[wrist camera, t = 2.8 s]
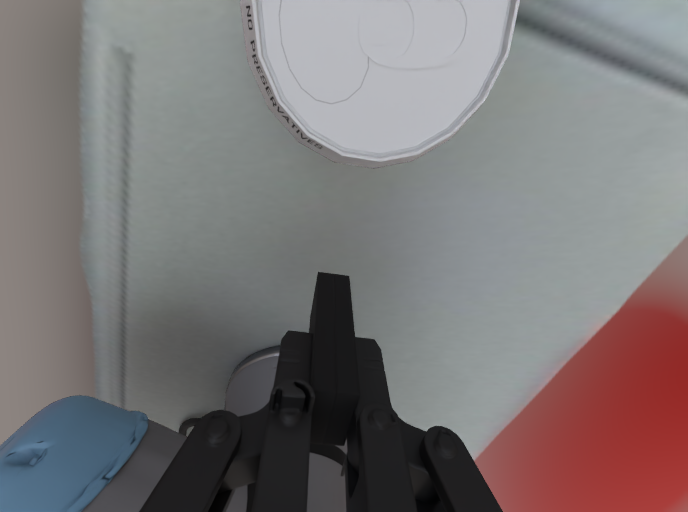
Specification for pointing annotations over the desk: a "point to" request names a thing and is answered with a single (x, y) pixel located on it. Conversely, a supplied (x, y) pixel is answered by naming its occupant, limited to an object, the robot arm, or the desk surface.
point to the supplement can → (376, 70)
